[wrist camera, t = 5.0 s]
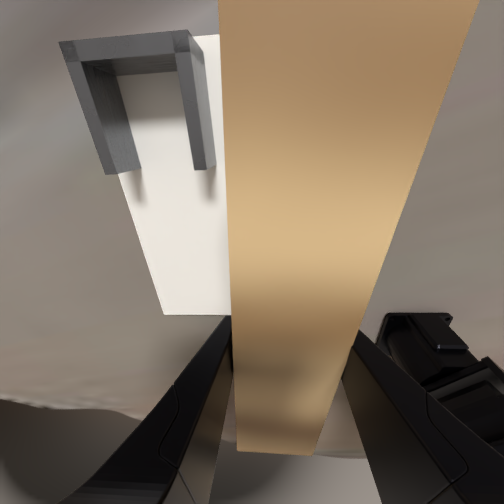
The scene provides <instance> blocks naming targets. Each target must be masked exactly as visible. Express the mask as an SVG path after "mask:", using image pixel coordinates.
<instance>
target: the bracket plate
mask: <svg viewBox="0 0 504 504" xmlns="http://www.w3.org/2000/svg"><path fill="white" fill-rule="evenodd" d="M59 45H60V48H61V51H62V54H63V56H64V59H65V62H66V65H67V68H68V70H69V73H70V76H71V79H72V82H73V85H74V87H75V90H76V93H77V96H78V99H79V101H80V104H81V107H82V110H83V113H84V116H85V118H86V121H87V124H88V127H89V130H90V132H91V135H92V138H93V141H94V144H95V147H96V149H97V152H98V155H99V158H100V161H101V163H102V166H103V169H104V172H105V175H108V174H118V175H119V178H120V181H121V184H122V188H123V191H124V194H125V197H126V200H127V203H128V206H129V209H130V212H131V215H132V218H133V221H134V224H135V227H136V230H137V233H138V236H139V239H140V242H141V246H142V249H143V252H144V255H145V258H146V261H147V264H148V267H149V270H150V273H151V276H152V279H153V282H154V285H155V288H156V291H157V294H158V297H159V300H160V303H161V307H162V310H163V313H164V315H231V297H230V273H229V249H228V225H227V202H226V178H225V154H224V130H223V107H222V83H221V59H220V35H219V34H218V35H207V36H196V37H192V35H191V34H190V33H189V31H188V30H178V31H167V32H157V33H146V34H136V35H125V36H115V37H104V38H94V39H83V40H73V41H62V42H59Z"/></svg>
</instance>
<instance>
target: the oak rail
mask: <svg viewBox="0 0 504 504" xmlns="http://www.w3.org/2000/svg"><path fill="white" fill-rule="evenodd" d="M478 3H479V0H218V12H219V35H220V59H221V83H222V107H223V130H224V154H225V178H226V202H227V225H228V249H229V273H230V297H231V320H232V344H233V368H234V392H235V415H236V439H237V451H247V452H262V453H276V454H292V455H306V456H312V455H313V452H314V450H315V447H316V444H317V441H318V439H319V436H320V433H321V431H322V428H323V425H324V422H325V420H326V417H327V414H328V411H329V409H330V406H331V403H332V401H333V398H334V395H335V392H336V390H337V387H338V384H339V381H340V379H341V376H342V373H343V371H344V368H345V365H346V362H347V359H348V356H349V352H350V349H351V346H353V343H354V341H355V338H356V335H357V332H358V330H359V327H360V324H361V322H362V319H363V316H364V313H365V311H366V308H367V305H368V302H369V300H370V297H371V294H372V292H373V289H374V286H375V283H376V281H377V278H378V275H379V273H380V270H381V267H382V264H383V262H384V259H385V256H386V253H387V251H388V248H389V245H390V243H391V240H392V237H393V234H394V232H395V229H396V226H397V223H398V221H399V218H400V215H401V213H402V210H403V207H404V204H405V202H406V199H407V196H408V193H409V191H410V188H411V185H412V183H413V180H414V177H415V174H416V172H417V169H418V166H419V164H420V161H421V158H422V155H423V153H424V150H425V147H426V144H427V142H428V139H429V136H430V134H431V131H432V128H433V125H434V123H435V120H436V117H437V114H438V112H439V109H440V106H441V104H442V101H443V98H444V95H445V93H446V90H447V87H448V84H449V82H450V79H451V76H452V74H453V71H454V68H455V65H456V63H457V60H458V57H459V55H460V52H461V49H462V46H463V44H464V41H465V38H466V35H467V33H468V30H469V27H470V25H471V22H472V19H473V16H474V14H475V11H476V8H477V5H478Z"/></svg>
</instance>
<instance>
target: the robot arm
mask: <svg viewBox="0 0 504 504" xmlns="http://www.w3.org/2000/svg"><path fill="white" fill-rule="evenodd" d="M452 319H453V317H452V316H451V315H450V314H449V313H389V314H387V316H386V318H385V321H384V324H383V327H382V330H381V333H380V336H379V339H378V342H377V345H376V344H374V343H373V342H372V341H371V340H370V339H369V338H368V337H367V336H366V335H365V334H364V333H362V332H361V331H360V330H358V332H357V335H356V338H355V341H354V343H353V346H351V349H350V352H349V356H348V359H347V362H346V365H345V368H344V371H343V373H342V376H341V379H342V383H343V386H344V389H345V392H346V395H347V398H348V401H349V404H350V407H351V410H352V413H353V416H354V419H355V422H356V425H357V428H358V431H359V434H360V438H361V441H362V444H363V447H364V450H365V453H366V456H367V459H368V462H369V465H370V468H371V471H372V474H373V477H374V480H375V483H376V486H377V489H378V492H379V496H380V498H381V502H382V504H504V370H503V369H501V368H500V367H499V366H498V365H497V364H496V363H495V362H494V361H492V360H491V359H490V358H489V357H488V356H487V357H485V358H482V359H481V361H478V360H477V359H476V358H475V357H474V356H473V355H472V354H471V352H470V351H469V350H468V349H469V347H468V346H467V345H466V344H465V342H464V341H463V340H462V339H461V338H460V337H459V336H458V335H457V334H456V333H455V332H454V331H453V330H452V329H451V328H450V327H449V325H450V323H451V321H452ZM388 355H389V356H391V357H392V358H393V360H394V361H393V360H392V359H391V358H390V357H389V356H388ZM233 372H234V368H233V344H232V320H231V315H226V316H225V317H224V318H223V320H222V321H221V322H220V324H219V325H218V326H217V327H216V329H215V330H214V331H213V333H212V334H211V335H210V337H209V338H208V339H207V340H206V342H205V343H204V344H203V346H202V347H201V348H200V350H199V351H198V352H197V353H196V355H195V356H194V357H193V359H192V360H191V361H190V363H189V364H188V365H187V366H186V368H185V369H184V370H183V372H182V373H181V374H180V376H179V377H178V378H177V379H176V381H175V382H174V385H172V386H171V387H170V388H169V390H168V391H167V392H166V394H165V395H164V396H163V397H162V399H161V400H160V401H159V402H158V404H157V405H156V406H155V407H154V409H153V410H152V411H151V412H150V413H149V414H148V415H147V416H146V418H145V419H144V420H143V421H142V422H141V423H140V424H139V425H138V427H137V428H136V429H135V430H134V431H133V432H132V433H131V434H130V435H129V436H128V437H127V439H126V440H125V441H124V442H123V443H122V444H121V445H120V446H119V447H118V448H117V450H116V451H115V452H114V453H113V454H112V455H111V456H110V457H109V458H108V459H107V460H106V462H105V463H104V464H103V465H102V466H101V467H100V468H99V469H98V470H97V471H96V472H95V473H94V474H93V475H92V476H91V477H90V478H89V479H88V480H87V481H85V482H84V483H83V484H82V485H81V486H80V487H79V488H77V489H76V490H75V491H73V492H72V493H71V494H69V495H68V496H67V497H65V498H64V499H62V500H61V501H59V502H58V503H56V504H208V502H209V495H210V491H211V486H212V481H213V476H214V471H215V465H216V460H217V455H218V450H219V445H220V440H221V434H222V429H223V424H224V419H225V414H226V409H227V404H228V398H229V393H230V388H231V383H232V378H233Z"/></svg>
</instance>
